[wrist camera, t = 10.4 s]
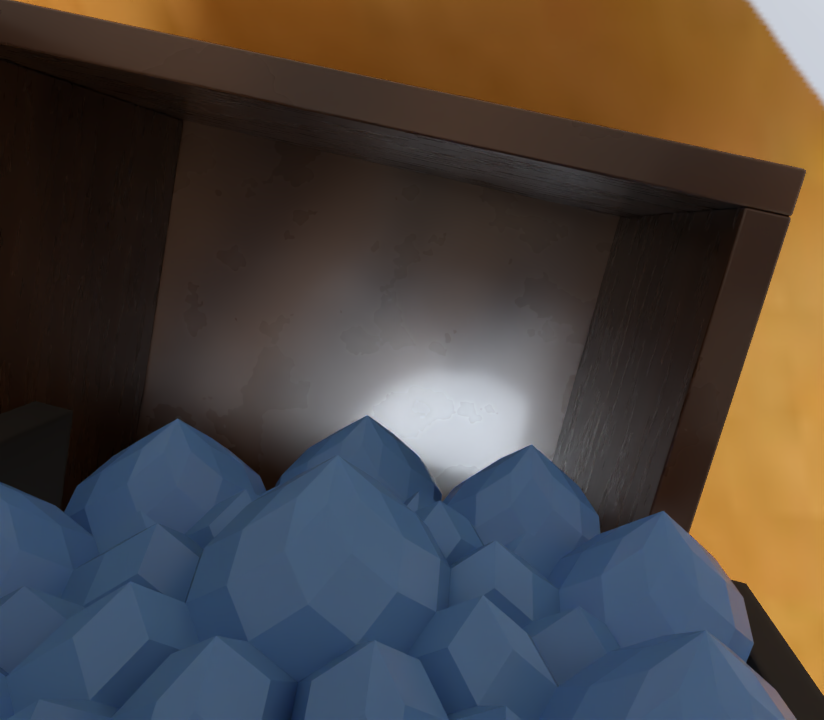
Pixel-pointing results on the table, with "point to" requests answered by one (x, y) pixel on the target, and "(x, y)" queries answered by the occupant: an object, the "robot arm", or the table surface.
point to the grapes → (358, 595)
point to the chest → (366, 266)
